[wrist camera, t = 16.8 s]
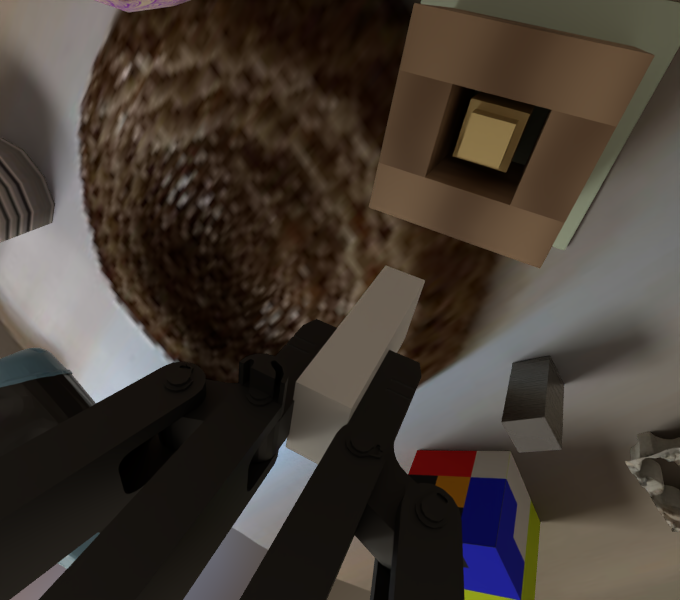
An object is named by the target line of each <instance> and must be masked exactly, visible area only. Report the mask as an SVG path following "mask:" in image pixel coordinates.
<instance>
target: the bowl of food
mask: <svg viewBox="0 0 680 600" xmlns="http://www.w3.org/2000/svg"><path fill="white" fill-rule="evenodd" d="M95 1H98V2H101V3H104V4H107V5H109V6H112V7H115V8H118V9H120V10H123V11H126V12H135V11H142V10H149V9H156V8H163V7H170V6H175V5H178V4H181V3H184V2H187V1H190V0H95Z"/></svg>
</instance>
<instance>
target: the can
mask: <svg viewBox="0 0 680 600" xmlns="http://www.w3.org/2000/svg"><path fill="white" fill-rule="evenodd" d="M54 206H55V204H54V201H53V198H52V196H51V193H50V190H49V188H48V185H47V182H46V180H45V177H44V176H43V174H42V173H41V172H40V170H39V169H38V168H37V167H36V165H35V164H34V163H33V162H32V160H31V159H30V158H29V156H28V155H27V154H26V153H25V151H24V150H22V149H20V148H19V147H17V146H15V145H13V144H12V143H10V142H8V141H7V140H5V139H3V138H0V242H3V241H5V240H8V239H11V238H13V237H16V236H18V235H21V234H24V233H26V232H29V231H32V230H34V229H37V228H40V227H42V226H45V225H47V224H50V223H52V220H53V213H54Z"/></svg>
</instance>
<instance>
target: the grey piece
mask: <svg viewBox="0 0 680 600" xmlns="http://www.w3.org/2000/svg"><path fill="white" fill-rule="evenodd" d="M637 440H638V443H637V444H636V445H635V446H634V447H632V448H631V449H630V455H631V461H625V463H626V465H627V466H628V468H629V469H630V471H631V473H632V474H634V475H635V477H636V478H637V480H638V481H639V483H640V485H641V486H642V487H643V488H644V487H645V489H646V490H647V491H648V493H649V494H650V497H651V498H652V500H653V502H654V503H655V505H656V507H657V509H658V510H659V512H660V513H661V515H662V516H663V517H664V518H665V520H666V521H667V523H668V524H669V526H670V527H672V531H676V532H679V531H680V490H679V489H677V488H675V487H673V486H669V485H664V482H663V476H662V471H661V467H660V465H659V464H658V463H657V462H656V461H654V460H653V459H651V458H659V457H661V458H663V459H666V460H667V461H668V462H671V461H674V462H675V463H676V464H677V465H679V466H680V437H679V438H676V439H662V438H659V437H656V436H654V435H653V434H652V433H651V432H646V433H641V434H638V435H637Z"/></svg>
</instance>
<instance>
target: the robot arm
mask: <svg viewBox="0 0 680 600" xmlns="http://www.w3.org/2000/svg"><path fill="white" fill-rule="evenodd" d="M424 282H425V280H422V279H420V278H417V277H414V276H412V275H409V274H407V273H404V272H401V271H399V270H396V269H394V268H391V267H388V266H385V267H384V269H383V270H382V271H381V272H380V274H379V275H378V276H377V278H376V279H375V280H374V281H373V283H372V284H371V285H370V287H369V288H368V289H367V290H366V292H365V293H364V294H363V296H362V297H361V298H360V300H359V301H358V302H357V303H356V305H355V306H354V307H353V309H352V310H351V311H350V312H349V314H348V315H347V316H346V318H345V319H344V320H343V321H342V323H341V324H340V325H339V327H338V328H336V327H333V326H331V325H329V324H327V323H324V322H322V321H320V320H317V319H316V320H313V321H311V322H309V323H307V324H305V325H303V326H302V327H301V328H300V329H299V330H298V332H297V333H296V334H295V335H294V337H292V338H291V339H290V340H289V342H288V343H287V345H285V346H284V347H283V348H282V349H281V351H280V352H279V353H278V354H277V355H276V356H273V355H269V354H253V355H250V356H247V357H245V358H244V359H242V360H241V361H239V383H225V382H219V381H213V380H208V379H206V378H205V373H204V372H203V370H202V369H201V368H200V367H199V366H197V365H195V364H193V363H188V362H176V363H171V364H169V365H166V366H163V367H162V368H160V369H158V370H156V371H154V372H152V373H151V374H149V375H147V376H145V377H143V378H142V379H140V380H138V381H136V382H134V383H133V384H131V385H129V386H127V387H125V388H124V389H122V390H120V391H118V392H116V393H114V394H113V395H111V396H109V397H107V398H105V399H104V400H102V401H100V402H98V403H95V402H94V401H93V399H92V398H91V397H90V396H89V395H88V393H87V392H86V391H85V390H84V389H83V387H82V386H81V385H80V384H79V383H78V381H77V380H76V379H75V378H74V377H73V375H72V372H71V371H70V370H67V369H66V368H65V367H64V366H63V365H62V364H61V363H60V362H59V361H58V360H57V359H56V358H55V357H54V356H53V355H52V354H51V353H50V352H49V351H47V350H45V349H42V348H29V349H25V350H22V351H19V352H17V353H14V354H11V355H9V356H6V357H4V358H2V359H0V600H9V599H11V598H12V597H13V596H15V595H16V594H18V593H19V592H20V591H21V590H23V589H24V588H25V587H27V586H28V585H29V584H31V583H32V582H33V581H35V580H36V579H37V578H39V577H40V576H41V575H42V574H44V573H45V572H46V571H48V570H49V569H50V568H52V567H53V566H54V565H56V564H57V563H58V564H60V565H61V566H63V567H65V568H66V569H67V570H66V571H65V572H64V573H63V574H62V575H61V576H60V577H59V578H58V579H57V580H56V581H55V583H54V584H53V585H52V586H51V587H50V588H49V589H48V590H47V591H46V592H45V593H44V595H43V596H42V597H41V598H40V599H39V600H183V599H184V597H185V596H186V594H187V593H188V592H189V590H190V588H191V587H192V586H193V584H194V583H195V581H196V579H197V578H198V577H199V575H200V574H201V572H202V570H203V569H204V568H205V566H206V565H207V563H208V562H209V560H210V559H211V557H212V556H213V554H214V553H215V551H216V550H217V548H218V547H219V546H220V544H221V542H222V541H223V540H224V538H225V537H226V535H227V534H228V532H229V531H230V529H231V528H232V526H233V525H234V523H235V522H236V520H237V519H238V517H239V516H240V514H241V513H242V511H243V510H244V508H245V507H246V505H247V504H248V502H249V501H250V499H251V498H252V497H253V495H254V494H255V492H256V491H257V489H258V488H259V486H260V485H261V483H262V482H263V480H264V479H265V477H266V476H267V474H268V473H269V471H270V470H271V468H272V467H273V465H274V464H275V461H276V459H277V457H278V450H279V448H280V447H281V445H282V444H283V442H284V441H285V439H286V438H287V442H286V447H287V448H288V449H290V450H292V451H294V452H296V453H298V454H300V455H302V456H304V457H305V458H307V459H309V460H311V461H313V462H315V463H317V464H318V466H317V467H316V469H315V471H314V473H313V474H312V476H311V478H310V479H309V481H308V483H307V485H306V486H305V488H304V490H303V491H302V493H301V495H300V497H299V498H298V500H297V502H296V503H295V505H294V507H293V509H292V510H291V512H290V514H289V516H288V517H287V519H286V521H285V522H284V524H283V526H282V528H281V529H280V531H279V533H278V534H277V536H276V538H275V540H274V541H273V543H272V545H271V547H270V548H269V550H268V552H267V554H266V555H265V557H264V559H263V560H262V562H261V564H260V566H259V567H258V569H257V571H256V572H255V574H254V576H253V577H252V579H251V581H250V583H249V585H248V586H247V588H246V590H245V591H244V593H243V595H242V596H241V598H240V600H327V598H328V596H329V593H330V591H331V589H332V586H333V584H334V582H335V579H336V577H337V575H338V572H339V570H340V568H341V565H342V563H343V561H344V558H345V556H346V554H347V551H348V549H349V547H350V544H351V542H352V540H353V537H354V535H355V536H356V537H357V538H358V539H359V540H360V541H361V543H362V544H363V545H364V546H365V547H366V548H367V549H368V550H369V551H370V552H371V554H372V555H373V556H374V557H375V562H374V571H373V579H372V587H371V596H370V600H465V597H464V570H463V543H462V520H461V515H460V511H459V508H458V506H457V504H456V503H455V501H454V499H453V498H452V497H451V496H450V495H449V494H448V493H447V492H446V491H445V490H444V489H442V488H440V487H438V486H436V485H434V484H429V483H419V484H417V483H416V482H415V481H414V480H413V479H412V478H411V477H410V476H409V475H408V474H407V473H406V472H405V471H404V470H403V469H402V468H401V467H400V465H399V463H398V461H397V460H396V457H395V453H394V441H395V438H396V436H397V434H398V431H399V429H400V427H401V424H402V422H403V420H404V417H405V415H406V413H407V410H408V408H409V405H410V403H411V401H412V398H413V396H414V393H415V391H416V388H417V386H418V384H419V381H420V379H421V370H420V363H418V362H416V361H414V360H412V359H409V358H407V357H405V356H402V355H400V354H398V353H397V352H398V350H399V348H400V346H401V344H402V342H403V340H404V338H405V336H406V333H407V330H408V328H409V325H410V322H411V319H412V316H413V313H414V311H415V308H416V305H417V302H418V299H419V296H420V293H421V291H422V288H423V285H424Z"/></svg>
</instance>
